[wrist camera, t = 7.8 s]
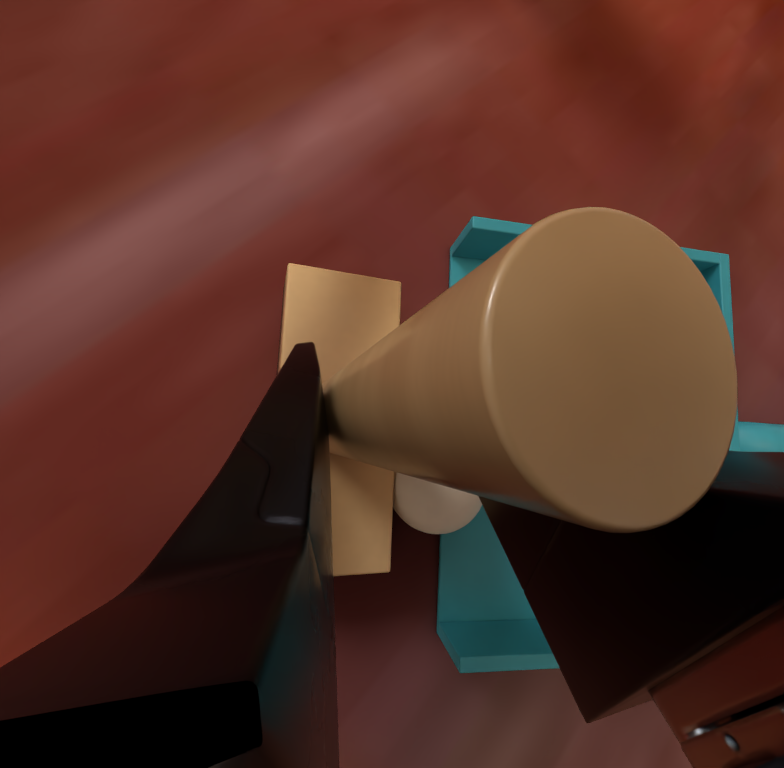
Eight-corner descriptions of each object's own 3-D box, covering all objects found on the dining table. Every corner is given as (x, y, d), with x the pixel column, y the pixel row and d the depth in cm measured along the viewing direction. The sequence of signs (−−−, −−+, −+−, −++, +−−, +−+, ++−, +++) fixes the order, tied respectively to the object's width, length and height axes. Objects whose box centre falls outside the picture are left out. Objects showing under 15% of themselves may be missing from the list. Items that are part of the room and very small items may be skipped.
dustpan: (436, 632, 16) (459, 673, 13) (450, 247, 18) (472, 215, 15) (815, 620, 19) (896, 652, 16) (790, 293, 21) (859, 273, 18)
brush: (381, 303, 17) (756, -91, 4) (370, 550, 15) (872, 1084, 3) (283, 288, 16) (393, -336, 3) (262, 556, 14) (292, 1569, 2)
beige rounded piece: (471, 518, 11) (359, 506, 13) (489, 553, 14) (395, 541, 15) (481, 413, 13) (384, 413, 15) (496, 461, 16) (412, 457, 17)
